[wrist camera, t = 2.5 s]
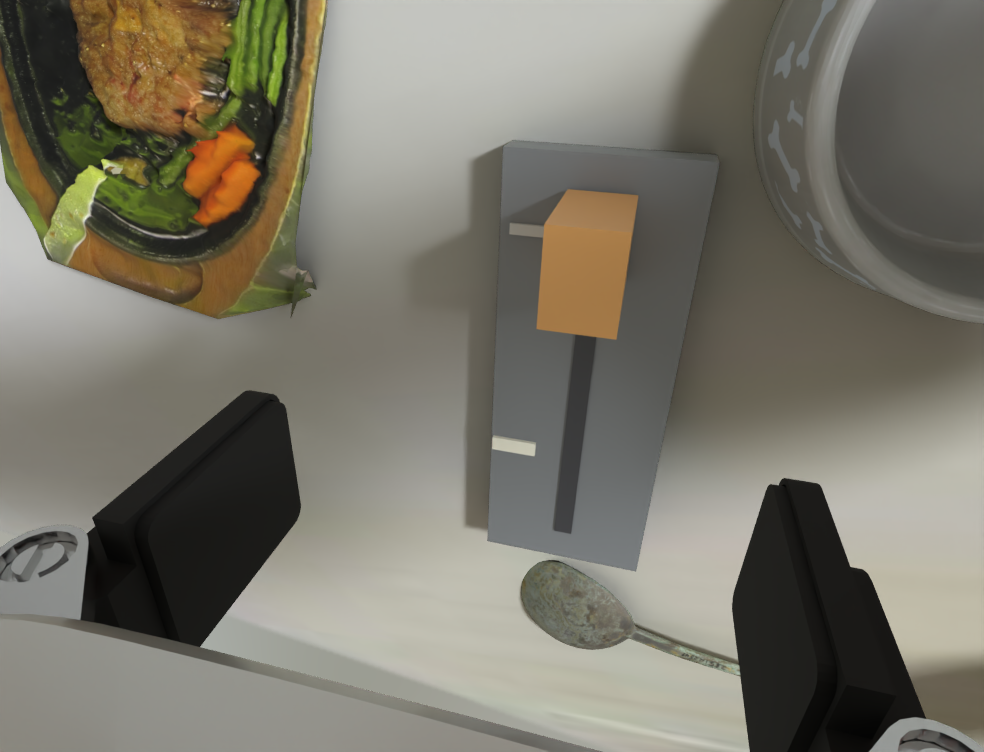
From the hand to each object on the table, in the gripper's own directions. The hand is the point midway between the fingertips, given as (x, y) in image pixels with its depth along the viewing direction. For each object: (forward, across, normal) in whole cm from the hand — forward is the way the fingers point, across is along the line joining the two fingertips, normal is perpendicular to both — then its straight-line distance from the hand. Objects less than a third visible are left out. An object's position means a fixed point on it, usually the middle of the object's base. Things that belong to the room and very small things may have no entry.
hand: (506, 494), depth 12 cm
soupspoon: (+21, -8, +26) cm, 35 cm away
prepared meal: (+21, +22, -8) cm, 31 cm away
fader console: (+20, 0, +8) cm, 22 cm away
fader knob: (+18, 0, 0) cm, 18 cm away
